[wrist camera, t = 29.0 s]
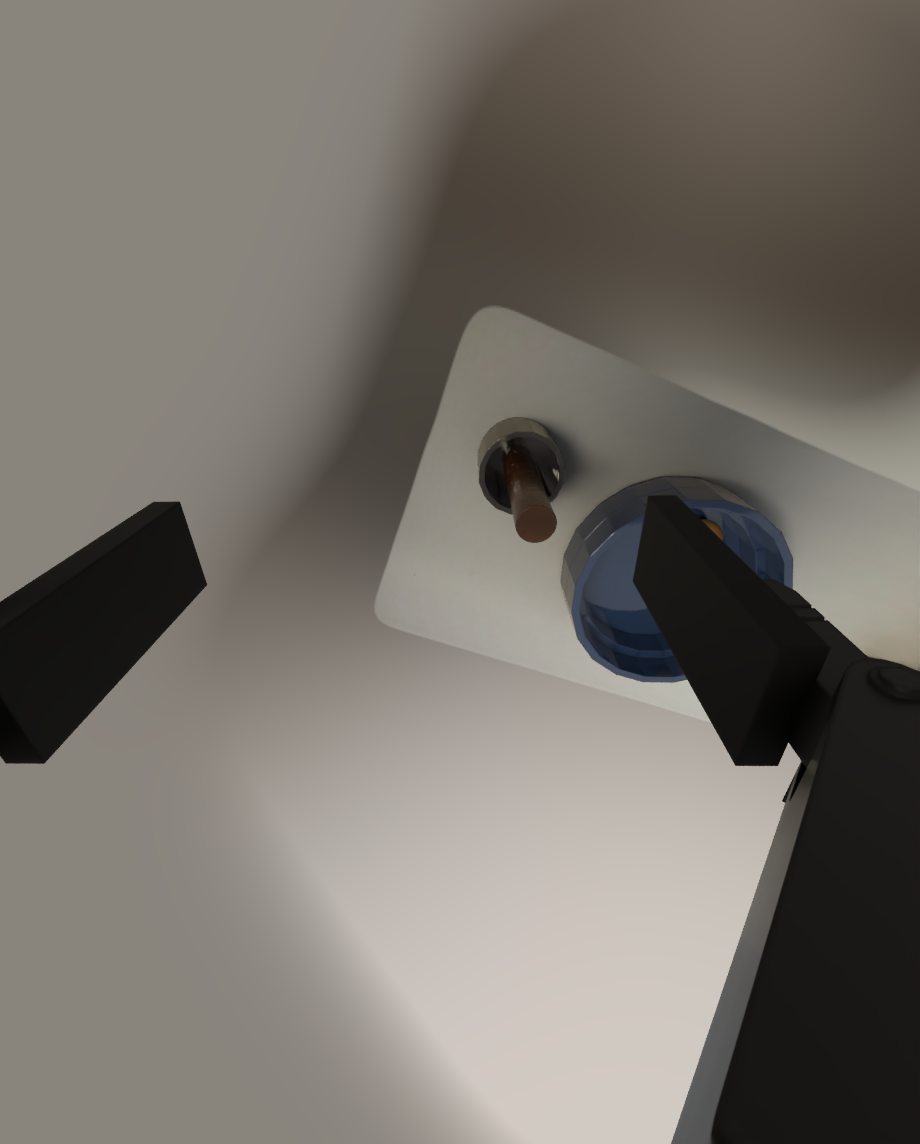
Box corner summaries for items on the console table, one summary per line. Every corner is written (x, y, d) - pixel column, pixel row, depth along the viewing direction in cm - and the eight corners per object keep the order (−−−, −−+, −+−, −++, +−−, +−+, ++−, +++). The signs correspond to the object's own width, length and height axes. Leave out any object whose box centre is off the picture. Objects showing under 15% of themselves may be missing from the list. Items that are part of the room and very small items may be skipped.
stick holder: (479, 416, 46) (480, 431, 40) (557, 417, 46) (569, 432, 40) (477, 491, 49) (478, 514, 44) (550, 492, 49) (560, 515, 44)
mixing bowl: (572, 473, 48) (587, 498, 42) (781, 476, 48) (827, 501, 42) (551, 641, 58) (561, 680, 52) (724, 644, 58) (755, 684, 52)
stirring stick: (502, 444, 46) (516, 505, 32) (531, 444, 46) (558, 505, 32) (500, 472, 48) (514, 542, 34) (529, 473, 48) (554, 543, 34)
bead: (672, 524, 49) (707, 510, 47) (690, 528, 52) (724, 516, 49) (681, 558, 48) (717, 546, 46) (698, 561, 51) (734, 549, 48)
